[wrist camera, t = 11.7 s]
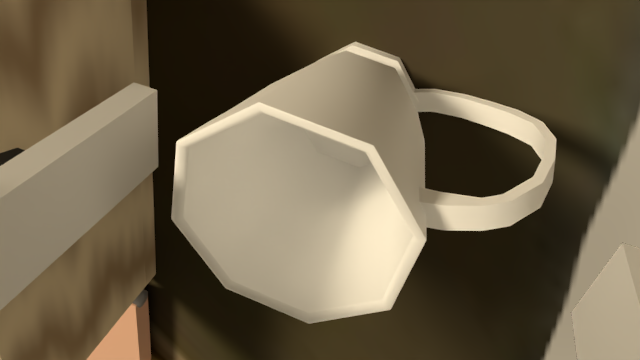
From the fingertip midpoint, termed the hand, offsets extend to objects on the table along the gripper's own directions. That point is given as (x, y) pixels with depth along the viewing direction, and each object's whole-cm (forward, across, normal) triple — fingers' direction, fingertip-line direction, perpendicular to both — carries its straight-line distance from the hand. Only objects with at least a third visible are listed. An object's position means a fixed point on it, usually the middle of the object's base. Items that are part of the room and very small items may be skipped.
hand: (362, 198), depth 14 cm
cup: (+6, 0, 0) cm, 6 cm away
